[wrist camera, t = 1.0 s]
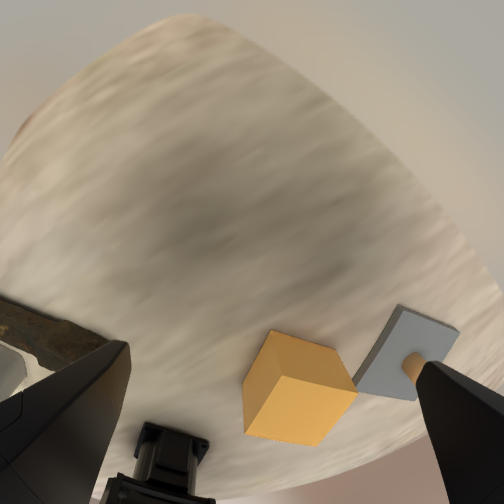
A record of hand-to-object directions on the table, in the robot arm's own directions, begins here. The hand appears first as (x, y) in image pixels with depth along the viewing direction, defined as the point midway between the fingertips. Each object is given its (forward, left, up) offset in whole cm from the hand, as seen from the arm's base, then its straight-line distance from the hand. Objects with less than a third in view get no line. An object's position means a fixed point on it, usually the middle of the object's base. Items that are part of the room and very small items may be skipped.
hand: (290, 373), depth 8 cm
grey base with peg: (-4, -16, -13) cm, 21 cm away
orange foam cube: (-8, -6, -13) cm, 16 cm away
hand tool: (-12, +16, -13) cm, 24 cm away
